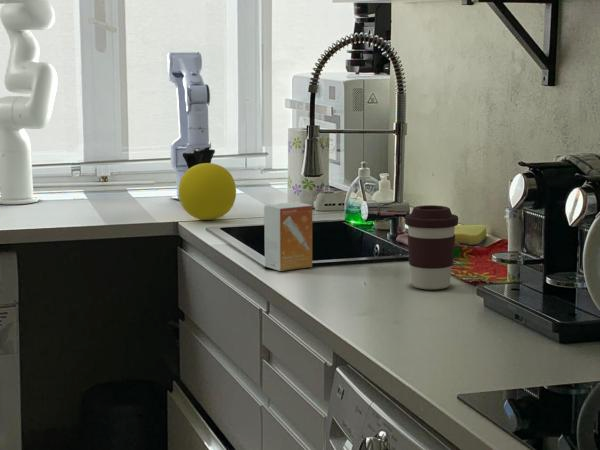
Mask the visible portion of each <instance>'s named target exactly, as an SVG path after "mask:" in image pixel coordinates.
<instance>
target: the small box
mask: <svg viewBox="0 0 600 450" xmlns="http://www.w3.org/2000/svg"><path fill="white" fill-rule="evenodd" d="M263 207H264V208H263V209H264V210H263V215H264V216H263V217H264V220H263V221H264V225H263V226H264V227H263V228H264V267H265V268H268V269H272V270H275V271H279V272H282V271H289V270H297V269H306V268H312V267H313V205H312V204H308V203H304V202H300V201H293V202H281V203H274V204H264V206H263Z"/></svg>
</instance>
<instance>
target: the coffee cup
mask: <svg viewBox="0 0 600 450" xmlns="http://www.w3.org/2000/svg"><path fill="white" fill-rule="evenodd" d="M404 225H406V226H407V227H408V228H407V230H408V233H407V251H408V253H407V254H408V264H409V265H410V267H409V268H410V282H411V286H413V287H414V288H416V289H421V290H431V291H432V290H442V289H443V290H444V289H446V288H448V287H450V285H451V279H452V266H453V265H454V255H455V244H456V243H455V242H456V235H455V229H456V228H455V227H456V226H458V225H459V216H458V215H456V214H453V213H452V211H451V208H450V207H448V206H444V205H437V204H436V205H434V204H433V205H431V204H429V205H426V204H425V205H418V206H414V207H413V208H412V210H411V213H408V214H406V215H405V216H404Z"/></svg>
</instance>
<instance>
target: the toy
mask: <svg viewBox="0 0 600 450" xmlns="http://www.w3.org/2000/svg"><path fill="white" fill-rule="evenodd" d="M236 197H237V187H236V182H235V180H234V177H233V175H232V174H231V173H230V171H228V169H226V168H225V167H224V166H222V165H219V164H218V163H212V162H211V163H202V164H198V165H195V166H193V167H191V168H190V169H188V170H187V171H186V172H185V173H184V175H183V176H182V178H181V181H180V184H179V198H180V200H179V202H180V204H181V206H182V208H183V209H184V211H185V212H186V213H187V214H188V215H190V216H191V217H193V218H195V219H197V220H203V221H210V220H211V221H212V220H216V219H217V220H218V219H219V218H222V217H224V216H225V215H227V214H228V213H229V212H230V211H231V209H232V208H233V206H234V204H235V201H236Z"/></svg>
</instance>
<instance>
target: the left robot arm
mask: <svg viewBox="0 0 600 450" xmlns="http://www.w3.org/2000/svg"><path fill="white" fill-rule="evenodd" d="M0 5H2V7H1V8H0V21H1V24H2V26H3V28H4V30H5V31H6V33H7V36H8V39H9V43H10V48H9V49H10V50H9V55H8V59H7V60H8V61H7V65H6V68H5V69H6V70H5V75H4V86H5V89H6V90H7V91H8V92H9V93H12V94H18V95H8V96H2V97H0V205H25V204H26V205H27V204H33V203H38V202H39V201H40V197H39V196H38V195H34V181H33V162H32V144H31V140H30V137H29V135H28V133H27V131H26V130H41V129H44V128H45V127H46V126H48V124H49V123H50V120H51V118H52V114H53V108H54V104H55V100H56V99H55V98H56V93H57V89H58V74H57V71H56V69H55V67H54V66H53V65H52V64H50V63H49V62H47V61H46V62H45V61H39V59H40V53H41V52H40V51H41V50H40V46H39V42H38V40H37V39H36V37H35V36H34V34H33V33H32V31H44V30H49V29H51V28H52V26H53V25H54V24H55V21H56V14H55V9H54V7H53V5H52V3H51V2H50V0H0ZM23 95H24V96H23ZM25 95H30V96H25Z"/></svg>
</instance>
